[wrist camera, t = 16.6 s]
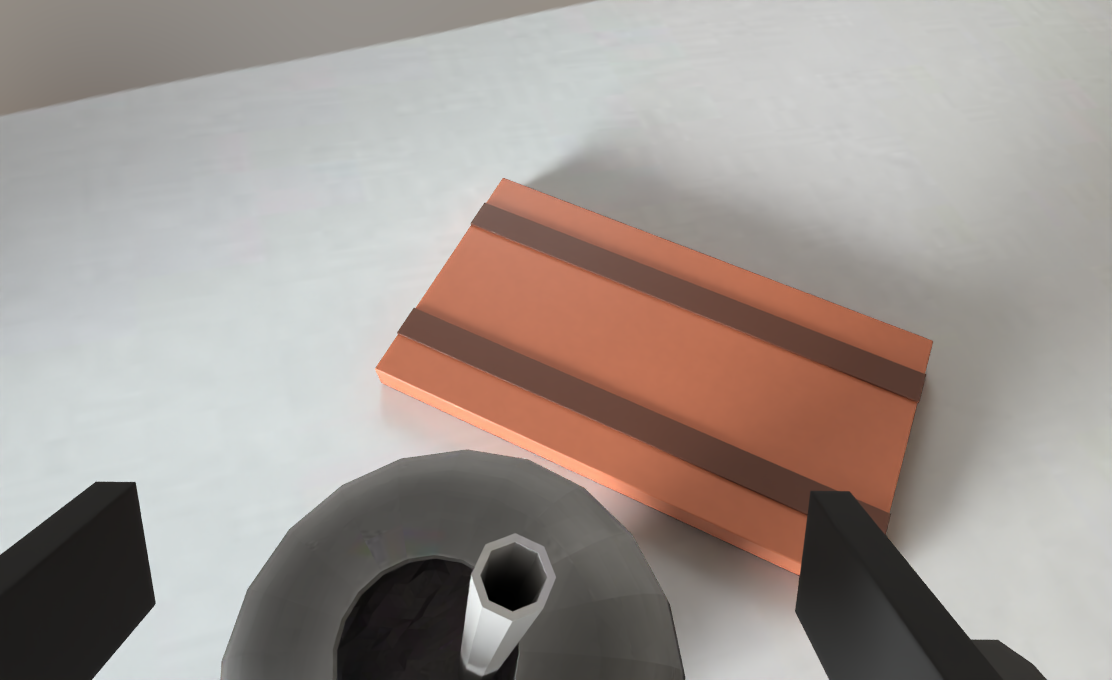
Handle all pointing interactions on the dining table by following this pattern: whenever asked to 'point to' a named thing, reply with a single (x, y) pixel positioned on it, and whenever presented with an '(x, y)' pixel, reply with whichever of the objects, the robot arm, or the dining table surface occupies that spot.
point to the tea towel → (662, 371)
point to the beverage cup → (456, 583)
